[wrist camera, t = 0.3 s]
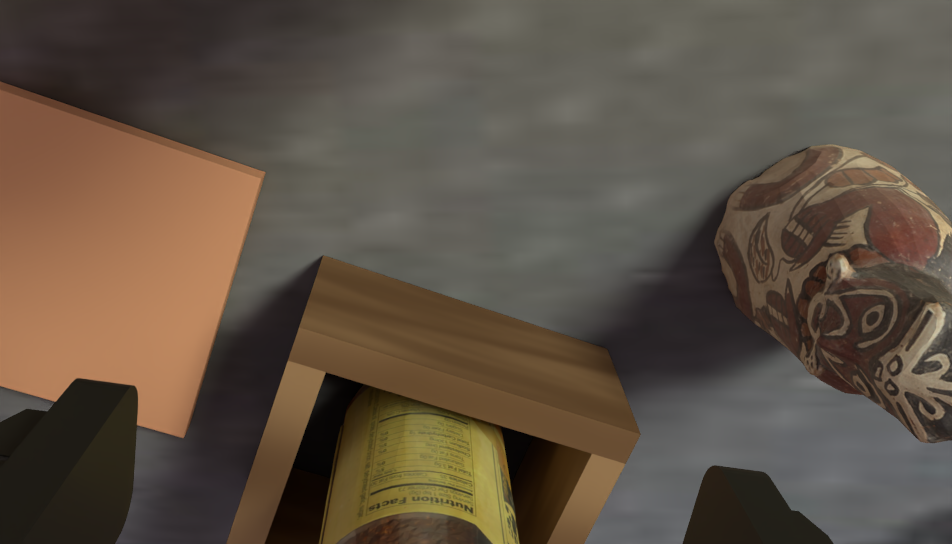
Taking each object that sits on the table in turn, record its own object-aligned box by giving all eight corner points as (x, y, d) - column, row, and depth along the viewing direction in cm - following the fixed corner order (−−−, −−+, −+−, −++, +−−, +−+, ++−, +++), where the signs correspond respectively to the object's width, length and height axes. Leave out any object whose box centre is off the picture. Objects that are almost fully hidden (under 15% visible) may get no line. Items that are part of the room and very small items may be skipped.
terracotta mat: (-61, 60, 29) (-74, 64, 28) (265, 172, 31) (261, 178, 30) (-105, 342, 32) (-117, 352, 32) (189, 427, 34) (183, 438, 34)
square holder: (323, 255, 32) (299, 327, 26) (607, 349, 34) (640, 434, 28) (247, 480, 35) (211, 585, 30) (508, 553, 37) (520, 665, 32)
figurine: (751, 125, 31) (929, 244, 20) (937, 163, 32) (1208, 298, 20) (692, 307, 33) (819, 503, 22) (865, 337, 34) (1071, 541, 23)
